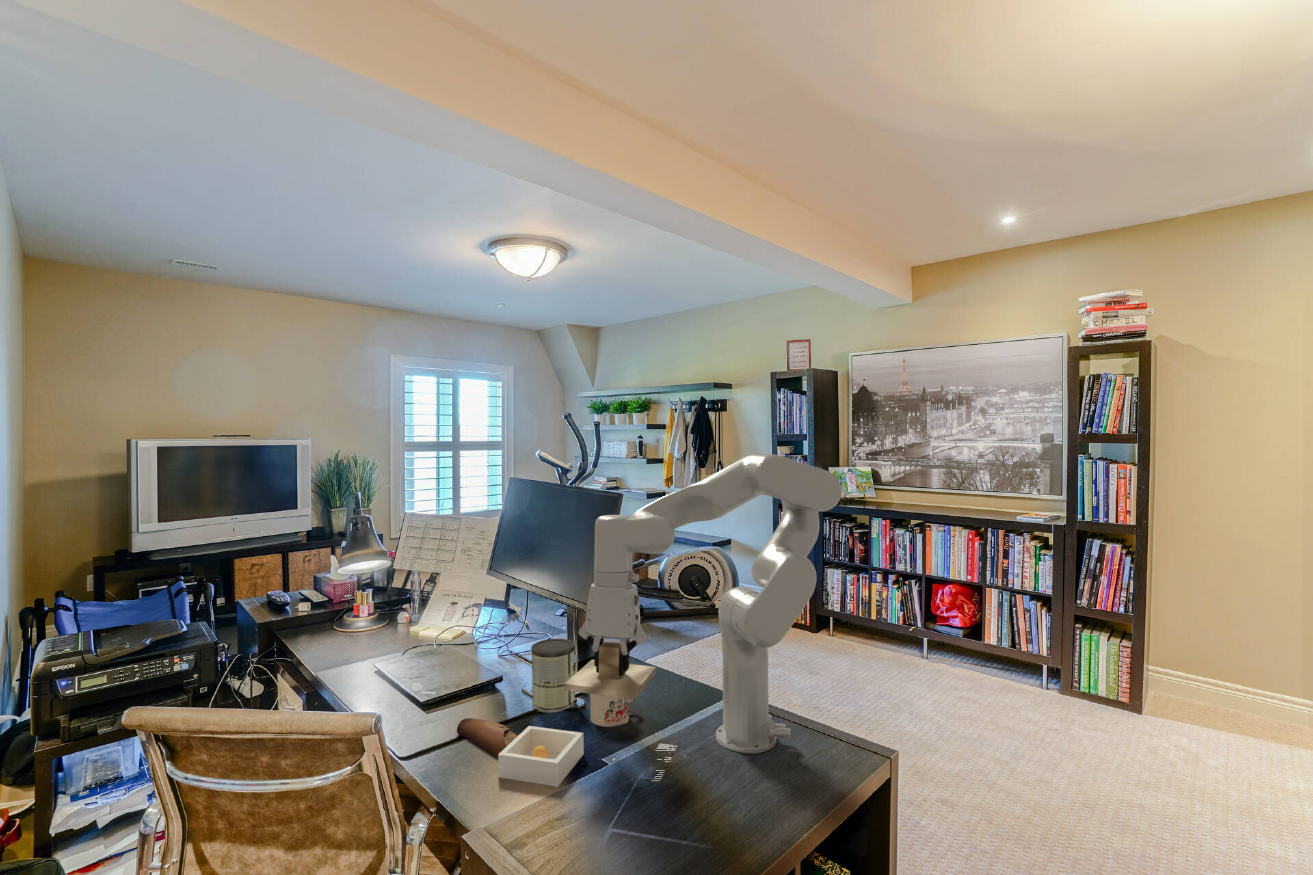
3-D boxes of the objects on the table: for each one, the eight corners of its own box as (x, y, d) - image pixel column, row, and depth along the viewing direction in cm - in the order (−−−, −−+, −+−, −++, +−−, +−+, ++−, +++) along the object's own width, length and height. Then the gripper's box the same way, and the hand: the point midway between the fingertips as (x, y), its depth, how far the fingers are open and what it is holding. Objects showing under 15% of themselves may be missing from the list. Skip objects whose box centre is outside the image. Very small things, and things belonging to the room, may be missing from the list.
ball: (550, 759, 122) (550, 743, 122) (543, 766, 119) (543, 751, 119) (536, 757, 123) (536, 741, 123) (529, 764, 120) (529, 749, 120)
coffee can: (527, 699, 152) (526, 642, 152) (567, 692, 156) (567, 636, 157) (538, 716, 143) (537, 655, 143) (581, 707, 147) (580, 648, 147)
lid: (655, 672, 127) (656, 637, 127) (634, 699, 114) (635, 659, 114) (591, 665, 131) (592, 630, 131) (564, 689, 118) (564, 651, 118)
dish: (583, 758, 124) (583, 732, 124) (557, 790, 112) (557, 762, 112) (529, 750, 127) (528, 725, 127) (498, 781, 116) (498, 754, 116)
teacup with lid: (607, 734, 134) (606, 680, 134) (581, 721, 140) (580, 669, 140) (647, 717, 142) (647, 665, 142) (621, 705, 148) (621, 656, 149)
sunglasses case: (537, 748, 128) (523, 725, 125) (512, 777, 123) (497, 754, 121) (490, 721, 140) (476, 700, 138) (466, 747, 136) (451, 726, 133)
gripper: (659, 577, 124) (657, 670, 124) (581, 571, 129) (579, 660, 128) (648, 585, 117) (646, 683, 117) (566, 579, 121) (564, 673, 121)
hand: (611, 670), depth 123 cm, fingers closed on lid, 4 cm apart
